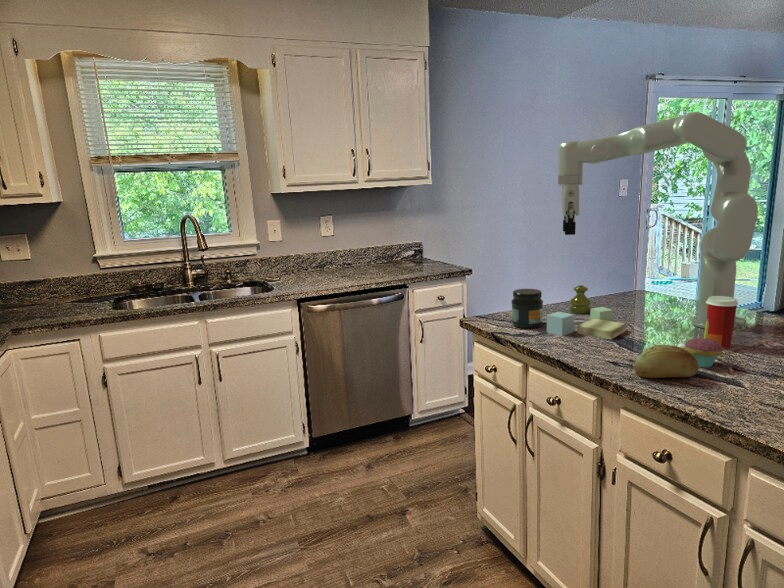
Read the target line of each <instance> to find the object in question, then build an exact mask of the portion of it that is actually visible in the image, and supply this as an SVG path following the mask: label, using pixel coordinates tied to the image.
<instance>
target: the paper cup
mask: <svg viewBox="0 0 784 588" xmlns="http://www.w3.org/2000/svg"><path fill="white" fill-rule="evenodd" d="M706 303H707V320H708V322H709V326H708V334H707V338H708V339H711V340H714V341H716V342H718V343H719V344H720V345H721V347H722V350H728V349H730V347H731V342H732V339H733V338H732V337H733V331H734V329H733V327H734V320H735V313H736V312H737V306H738V305H739V303H738V300H737V299H736V298H735V297H734V298H732V297H726V296H711V297H709V298H708V299H707V301H706ZM736 314H737V313H736Z"/></svg>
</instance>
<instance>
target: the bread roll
mask: <svg viewBox="0 0 784 588" xmlns="http://www.w3.org/2000/svg"><path fill="white" fill-rule="evenodd" d="M633 366H634V367H633V369H634V373H635V374H636V375H637V376H639V377H641V378H646V379H659V378H661V379H662V378H688V377H689V378H690V377H694V376H695V375H697V373H698V372H699V370H700V369H699V368H700V367H699V366H698V362H697V360H696V359H695V357H694V356H693V355H692V354H691V353H690V352H688V351H687V350H685V349H684V348H682V347H680V346H677V345H671V344H657V345H656V344H655V345H652V346H650V347H648V348H645V350H643V351H642V352H641V353H640V354H639V356H638V357H637V359H636V360H635V362H634V365H633Z"/></svg>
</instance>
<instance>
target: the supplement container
mask: <svg viewBox="0 0 784 588" xmlns="http://www.w3.org/2000/svg"><path fill="white" fill-rule="evenodd" d="M542 294H543V293H542V290H540V289H538V288H537V289H536V288H518V289H515V290H513V291H512V297H513V298H512V300H511V301H510V302H511V324H512V325H513V326H514V327H516V328H518V329H519V328H520V329H535V328H536V329H537V328H540V327H541V326H543V322H544V319H543V316H544V315H543V312H544V311H543V310H544V308H543V306H544V301H543V299H542V296H543V295H542Z"/></svg>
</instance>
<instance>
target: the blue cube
mask: <svg viewBox="0 0 784 588" xmlns="http://www.w3.org/2000/svg"><path fill="white" fill-rule="evenodd" d="M574 331H575V314H574V313H572V314H571V313H567V312H562V311H556V312H553V313H549V314H547V315H546V333H547V334H552V335H557V336H560V337H563V336H567V335H569V334H573V333H574Z"/></svg>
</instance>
